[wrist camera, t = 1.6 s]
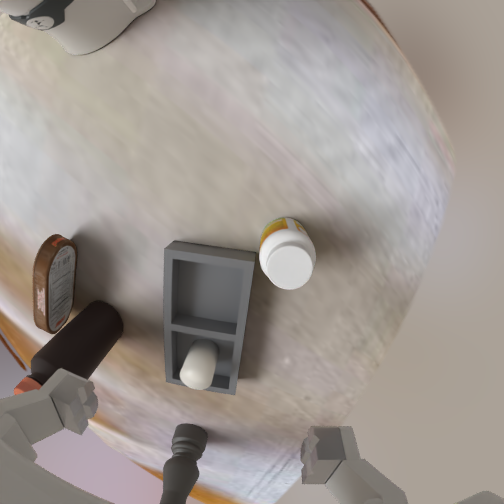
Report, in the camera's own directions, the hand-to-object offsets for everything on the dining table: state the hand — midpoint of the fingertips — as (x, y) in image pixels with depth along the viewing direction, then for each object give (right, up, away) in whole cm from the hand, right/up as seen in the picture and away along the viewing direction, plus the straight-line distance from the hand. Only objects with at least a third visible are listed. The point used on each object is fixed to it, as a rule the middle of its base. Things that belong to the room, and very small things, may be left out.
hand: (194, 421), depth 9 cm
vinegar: (-20, -4, +30) cm, 36 cm away
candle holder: (-9, -28, +36) cm, 47 cm away
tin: (-25, +2, +28) cm, 38 cm away
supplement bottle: (+6, +7, +25) cm, 26 cm away
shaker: (-4, -8, +29) cm, 30 cm away
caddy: (-4, -3, +28) cm, 29 cm away
